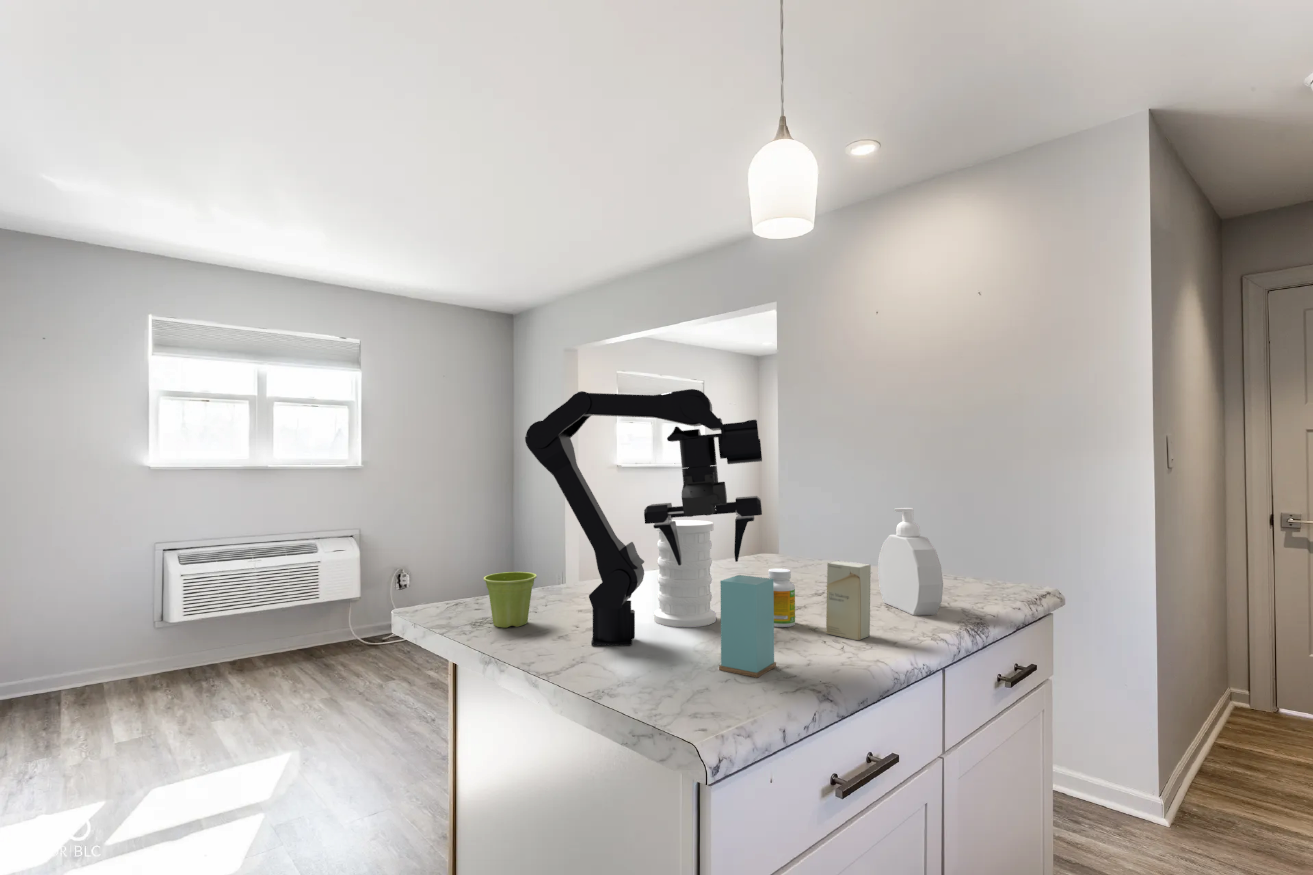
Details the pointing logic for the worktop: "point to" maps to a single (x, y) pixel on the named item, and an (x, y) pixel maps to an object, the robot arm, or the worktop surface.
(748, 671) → the post
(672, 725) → the worktop surface
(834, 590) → the skincare box
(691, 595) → the decorative container
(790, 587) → the supplement bottle
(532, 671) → the worktop surface
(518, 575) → the plant pot
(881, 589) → the soap bottle
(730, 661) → the teal block
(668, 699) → the worktop surface
